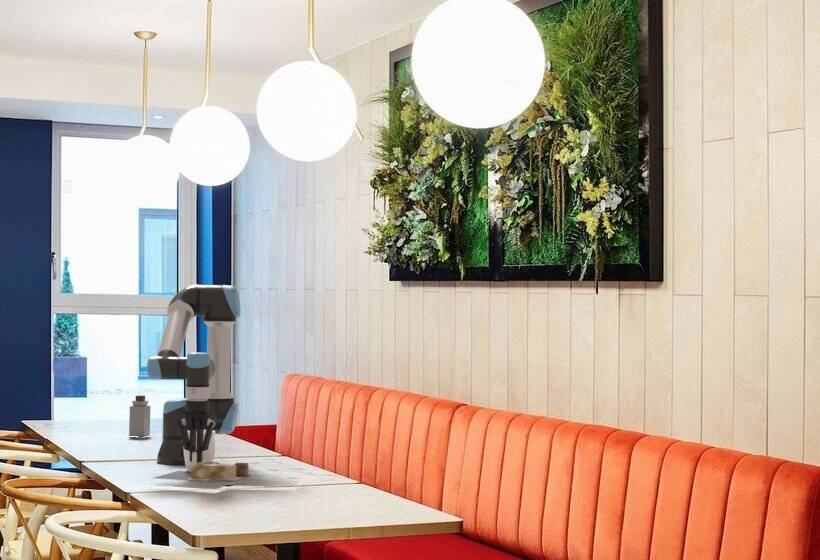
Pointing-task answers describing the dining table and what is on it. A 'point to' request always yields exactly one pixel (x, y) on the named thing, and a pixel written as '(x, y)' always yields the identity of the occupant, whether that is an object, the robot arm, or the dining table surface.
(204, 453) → the jar
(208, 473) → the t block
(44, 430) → the dining table surface
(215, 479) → the mat
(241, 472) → the walnut cube
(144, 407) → the perfume bottle
